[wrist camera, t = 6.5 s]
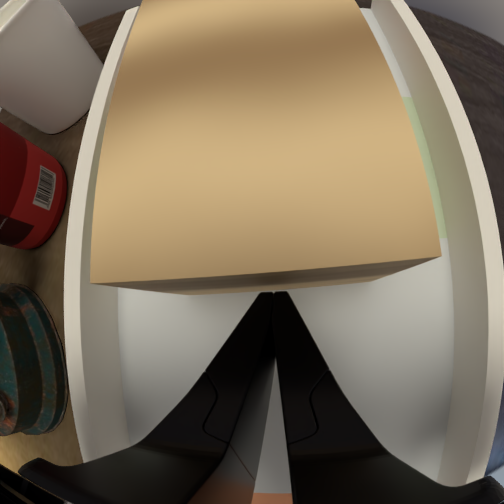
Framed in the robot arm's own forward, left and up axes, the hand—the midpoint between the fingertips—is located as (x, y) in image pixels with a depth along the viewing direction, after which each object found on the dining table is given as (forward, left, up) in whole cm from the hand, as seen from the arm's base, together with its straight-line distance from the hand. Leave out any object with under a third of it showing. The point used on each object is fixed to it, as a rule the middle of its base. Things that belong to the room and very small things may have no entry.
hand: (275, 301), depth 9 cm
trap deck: (-1, 0, -7) cm, 7 cm away
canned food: (+8, +19, -7) cm, 22 cm away
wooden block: (+6, 0, -4) cm, 7 cm away
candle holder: (+18, +18, -7) cm, 27 cm away
